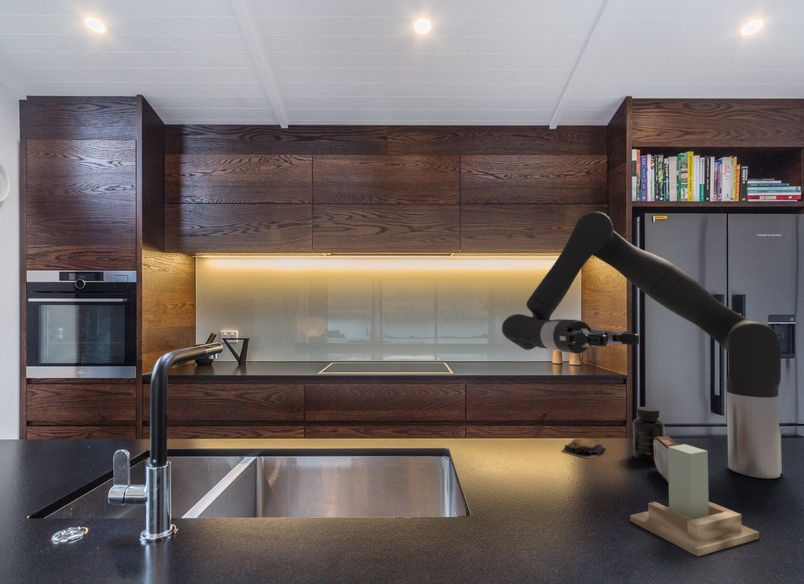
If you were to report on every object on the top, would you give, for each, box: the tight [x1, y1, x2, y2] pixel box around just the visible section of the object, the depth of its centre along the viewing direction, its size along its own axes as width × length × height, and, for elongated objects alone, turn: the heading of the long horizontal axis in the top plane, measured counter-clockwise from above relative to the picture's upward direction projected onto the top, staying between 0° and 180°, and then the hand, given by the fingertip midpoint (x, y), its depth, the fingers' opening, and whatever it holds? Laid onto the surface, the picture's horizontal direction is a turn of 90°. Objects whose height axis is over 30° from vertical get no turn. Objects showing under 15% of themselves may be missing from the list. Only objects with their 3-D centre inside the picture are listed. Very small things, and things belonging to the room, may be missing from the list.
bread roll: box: [561, 437, 607, 460], centre depth 118 cm, size 11×8×4 cm
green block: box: [668, 443, 710, 519], centre depth 77 cm, size 4×4×12 cm
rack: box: [629, 501, 760, 557], centre depth 76 cm, size 14×12×4 cm
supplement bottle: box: [632, 406, 666, 464], centre depth 112 cm, size 7×7×12 cm
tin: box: [653, 435, 680, 484], centre depth 98 cm, size 15×3×8 cm, turn 168°
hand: (621, 340), depth 92 cm, fingers open, 8 cm apart
